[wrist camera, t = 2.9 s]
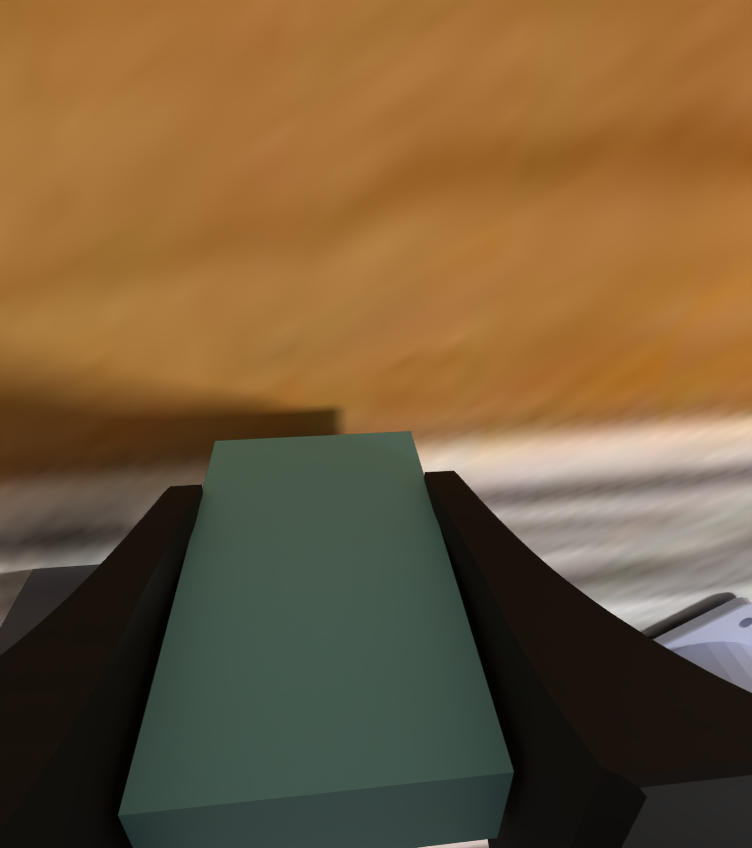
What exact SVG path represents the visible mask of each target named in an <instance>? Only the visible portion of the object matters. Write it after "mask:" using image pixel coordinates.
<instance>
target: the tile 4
mask: <svg viewBox="0 0 752 848" xmlns="http://www.w3.org/2000/svg"><path fill="white" fill-rule="evenodd" d="M98 567H99V565H89V566H74V567H60V568H46V569H33V570H32V572H31V574H30V576H29V578H28V579H27V581H26V583H25V585H24V586H23V588H22V590H21V592H20V594H19V595H18V597H17V599H16V601H15V602H14V604H13V606H12V608H11V610H10V611H9V613H8V615H7V617H6V619H5V620H4V622H3V624H2V626H1V627H0V655H1V654H3V653H4V652H5V651H7V650H8V649H9V648H10V647H12V646H13V645H14V644H15V643H17V642H18V641H19V640H20V639H21V638H22V637H24V636H25V635H26V634H27V633H28V632H30V631H31V630H32V629H33V628H34V627H35V626H37V625H38V624H39V623H40V622H41V621H43V620H44V619H45V618H46V617H47V616H48V615H49V614H50V613H51V612H53V611H54V610H55V609H56V608H57V607H58V606H59V605H60V604H61V603H62V602H63V601H64V600H65V599H67V598H68V597H69V596H70V595H71V594H72V593H73V592H74V591H75V590H76V589H77V588H78V587H79V586H80V585H81V584H82V583H83V582H84V581H85V580H86V579H87V578H88V577H89V576H90V575H91V574H92V573H93V572H94V571H95V570H96V569H97V568H98Z"/></svg>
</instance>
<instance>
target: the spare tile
mask: <svg viewBox="0 0 752 848" xmlns="http://www.w3.org/2000/svg"><path fill="white" fill-rule="evenodd" d="M513 774H514V770H513V767H512V764H511V761H510V757H509V754H508V751H507V747H506V744H505V741H504V737H503V734H502V731H501V728H500V724H499V721H498V718H497V714H496V711H495V708H494V704H493V701H492V698H491V695H490V691H489V688H488V685H487V681H486V678H485V675H484V671H483V668H482V665H481V662H480V658H479V655H478V652H477V648H476V645H475V642H474V638H473V635H472V632H471V629H470V625H469V622H468V619H467V615H466V612H465V609H464V605H463V602H462V599H461V596H460V592H459V589H458V586H457V582H456V579H455V576H454V572H453V569H452V566H451V563H450V559H449V556H448V553H447V549H446V546H445V543H444V539H443V536H442V533H441V530H440V526H439V523H438V521H437V519H436V517H435V514H434V512H433V508H432V505H431V502H430V498H429V495H428V492H427V488H426V485H425V482H424V473H423V470H422V467H421V464H420V460H419V457H418V454H417V450H416V447H415V444H414V440H413V437H412V434H411V431H406V432H385V433H365V434H344V435H324V436H303V437H283V438H262V439H242V440H221V441H215V444H214V448H213V451H212V455H211V459H210V463H209V467H208V471H207V475H206V478H205V482H204V486H203V495H202V499H201V503H200V507H199V511H198V515H197V519H196V523H195V526H194V529H193V532H192V534H191V537H190V540H189V544H188V548H187V552H186V555H185V559H184V563H183V567H182V571H181V575H180V579H179V582H178V586H177V590H176V594H175V598H174V602H173V606H172V609H171V613H170V617H169V621H168V625H167V629H166V633H165V636H164V640H163V644H162V648H161V652H160V656H159V660H158V663H157V667H156V671H155V675H154V679H153V683H152V686H151V690H150V694H149V698H148V702H147V706H146V710H145V713H144V717H143V721H142V725H141V729H140V733H139V737H138V740H137V744H136V748H135V752H134V756H133V760H132V764H131V767H130V771H129V775H128V779H127V783H126V787H125V791H124V794H123V798H122V802H121V806H120V810H119V814H118V817H119V819H120V821H121V823H122V825H123V827H124V830H125V832H126V834H127V836H128V838H129V840H130V843H131V845H132V847H133V848H418V847H426V846H434V845H443V844H451V843H459V842H468V841H476V840H484V839H492V838H497V837H498V833H499V829H500V825H501V821H502V817H503V813H504V809H505V806H506V802H507V798H508V794H509V790H510V786H511V782H512V778H513Z"/></svg>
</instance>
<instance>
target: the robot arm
mask: <svg viewBox="0 0 752 848" xmlns="http://www.w3.org/2000/svg"><path fill="white" fill-rule="evenodd" d="M424 482H425V485H426V488H427V492H428V495H429V498H430V502H431V505H432V508H433V512H434V514H435V517H436V519H437V521H438V523H439V526H440V530H441V533H442V536H443V539H444V543H445V546H446V549H447V553H448V556H449V559H450V563H451V566H452V569H453V572H454V576H455V579H456V582H457V586H458V589H459V592H460V596H461V599H462V602H463V605H464V609H465V612H466V615H467V619H468V622H469V625H470V629H471V632H472V635H473V638H474V642H475V645H476V648H477V652H478V655H479V658H480V662H481V665H482V668H483V671H484V675H485V678H486V681H487V685H488V688H489V691H490V695H491V698H492V701H493V704H494V708H495V711H496V714H497V718H498V721H499V724H500V728H501V731H502V734H503V737H504V741H505V744H506V747H507V751H508V754H509V757H510V761H511V764H512V767H513V770H514V774H513V778H512V782H511V786H510V790H509V794H508V798H507V802H506V806H505V809H504V813H503V817H502V821H501V825H500V829H499V833H498V837H497V838H492V839H488V844H489V848H752V603H751V602H750V601H749V600H748V599H747V598H742V597H740V598H735V599H732V600H730V601H728V602H726V603H724V604H722V605H720V606H718V607H716V608H714V609H712V610H710V611H708V612H706V613H704V614H702V615H700V616H698V617H696V618H694V619H692V620H690V621H688V622H686V623H684V624H682V625H680V626H678V627H676V628H674V629H672V630H670V631H668V632H666V633H664V634H662V635H660V636H658V637H656V638H654V639H651V638H649V637H647V636H646V635H644V634H643V633H641V632H640V631H638V630H636V629H635V628H633V627H632V626H630V625H629V624H627V623H626V622H624V621H623V620H621V619H619V618H618V617H616V616H615V615H613V614H612V613H610V612H609V611H607V610H606V609H605V608H603V607H602V606H600V605H599V604H597V603H596V602H594V601H593V600H592V599H590V598H589V597H588V596H586V595H585V594H584V593H582V592H581V591H580V590H578V589H577V588H576V587H575V586H573V585H572V584H571V583H569V582H568V581H567V580H565V579H564V578H563V577H562V576H560V575H559V574H558V573H557V572H555V571H554V570H553V569H552V568H550V567H549V566H548V565H547V564H546V563H545V562H544V561H543V560H541V559H540V558H539V557H538V556H537V555H536V554H535V553H533V552H532V551H531V550H530V549H529V548H528V547H527V546H526V545H525V544H524V543H523V542H522V541H521V540H520V539H519V538H518V537H516V536H515V535H514V534H513V533H512V532H511V531H510V530H509V529H508V528H507V527H506V526H505V525H504V524H503V523H502V522H501V521H500V520H499V519H498V518H497V517H496V516H495V514H494V513H493V512H492V511H491V510H490V509H489V508H488V507H487V506H486V505H485V504H484V503H483V502H482V501H481V500H480V499H479V497H478V496H477V495H476V494H475V493H474V492H473V491H472V490H471V489H470V487H469V486H468V485H467V484H466V483H465V482H464V481H463V480H462V479H461V477H460V476H459V475H458V474H457V473H456V472H455V471H441V472H425V474H424ZM202 495H203V489H202V485H186V486H170V487H169V488H168V489H167V490H166V491H165V492H164V493H163V494H162V496H161V497H160V498H159V499H158V500H157V501H156V503H155V504H154V505H153V506H152V507H151V508H150V510H149V511H148V512H147V513H146V514H145V515H144V517H143V518H142V519H141V520H140V521H139V522H138V524H137V525H136V526H135V527H134V528H133V529H132V530H131V532H130V533H129V534H128V535H127V536H126V537H125V538H124V539H123V540H122V542H121V543H120V544H119V545H118V546H117V547H116V548H115V549H114V550H113V551H112V553H111V554H110V555H109V556H108V557H107V558H106V559H105V560H104V561H103V562H102V563H101V564H100V565H99V567H98V568H97V569H96V570H95V571H94V572H93V573H92V574H91V575H90V576H89V577H88V578H87V579H86V580H85V581H84V582H83V583H82V584H81V585H80V586H79V587H78V588H77V589H76V590H75V591H74V592H73V593H72V594H71V595H70V596H69V597H68V598H67V599H65V600H64V601H63V602H62V603H61V604H60V605H59V606H58V607H57V608H56V609H55V610H54V611H53V612H51V613H50V614H49V615H48V616H47V617H46V618H45V619H44V620H43V621H41V622H40V623H39V624H38V625H37V626H35V627H34V628H33V629H32V630H31V631H30V632H28V633H27V634H26V635H25V636H24V637H22V638H21V639H20V640H19V641H18V642H17V643H15V644H14V645H13V646H12V647H10V648H9V649H8V650H7V651H5V652H4V653H3V654H1V655H0V848H133V847H132V845H131V843H130V840H129V838H128V836H127V834H126V832H125V830H124V827H123V825H122V823H121V821H120V819H119V817H118V814H119V810H120V806H121V802H122V798H123V794H124V791H125V787H126V783H127V779H128V775H129V771H130V767H131V764H132V760H133V756H134V752H135V748H136V744H137V740H138V737H139V733H140V729H141V725H142V721H143V717H144V713H145V710H146V706H147V702H148V698H149V694H150V690H151V686H152V683H153V679H154V675H155V671H156V667H157V663H158V660H159V656H160V652H161V648H162V644H163V640H164V636H165V633H166V629H167V625H168V621H169V617H170V613H171V609H172V606H173V602H174V598H175V594H176V590H177V586H178V582H179V579H180V575H181V571H182V567H183V563H184V559H185V555H186V552H187V548H188V544H189V540H190V537H191V534H192V532H193V529H194V526H195V523H196V519H197V515H198V511H199V507H200V503H201V499H202Z"/></svg>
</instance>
